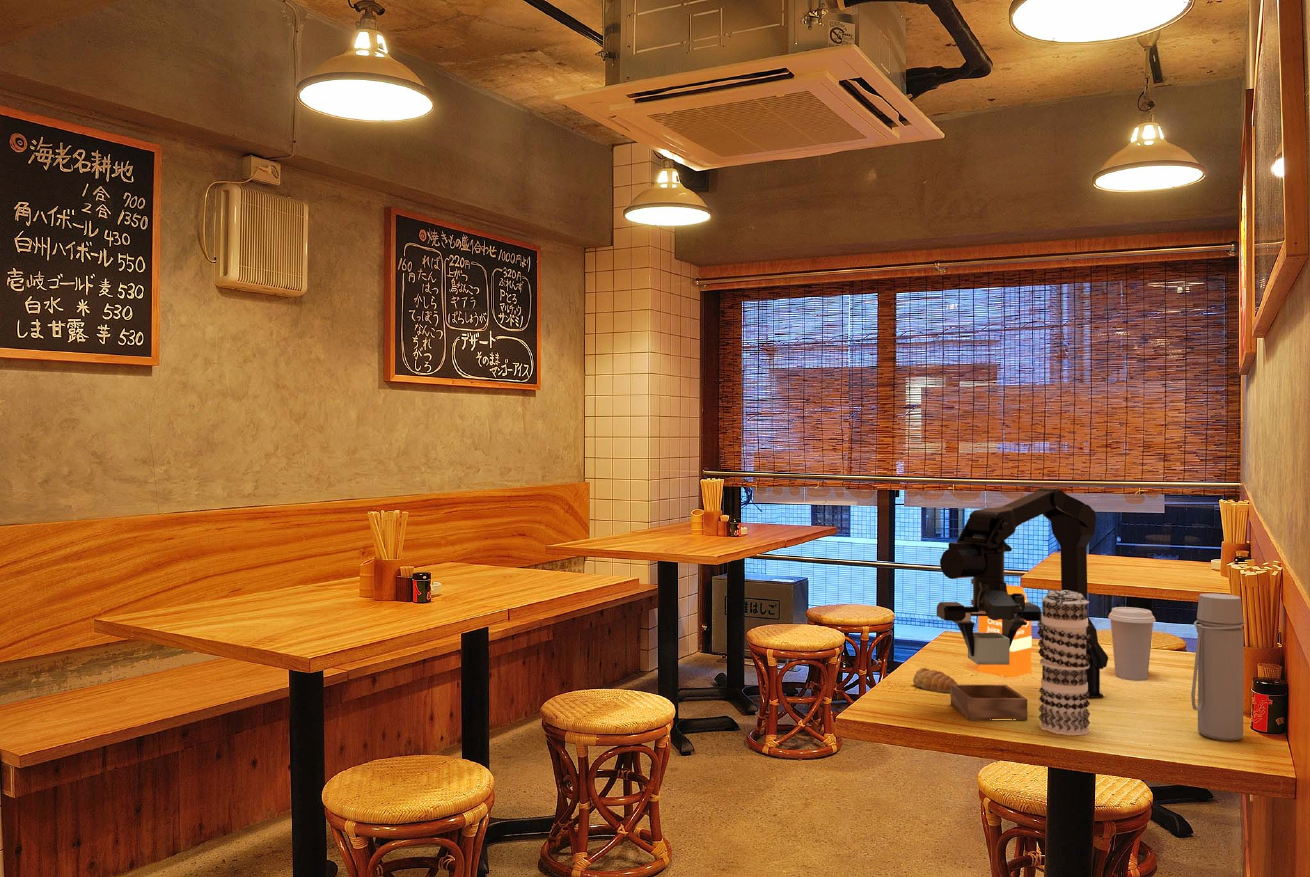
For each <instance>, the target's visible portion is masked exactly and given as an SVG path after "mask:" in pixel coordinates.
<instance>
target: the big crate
mask: <svg viewBox="0 0 1310 877" xmlns="http://www.w3.org/2000/svg"><path fill="white" fill-rule="evenodd" d="M950 705H951V706H952V707H953V708H954V709H955V710H957V711H958V713H960V714H961V715H962V716H963V717H964V718H965V719H967V720H968V721H987V720H990V719H991V720H992V719H1012V720H1013V719H1016V720H1027V721H1028V698H1026V697H1024V696H1023V695H1021V694H1020V693H1019V692H1018V691H1016V690H1015V689H1013V688H1011V687H1010V686H1008V685H1007V684H958V685H951V692H950Z"/></svg>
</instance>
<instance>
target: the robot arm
mask: <svg viewBox="0 0 1310 877" xmlns="http://www.w3.org/2000/svg"><path fill="white" fill-rule="evenodd" d="M1041 515H1042V516H1043V517H1044V518H1046V519H1047V520H1048V521H1049V522H1050V525H1051V526H1050V527H1051V532H1052V535H1053V537H1054V539H1056V541H1057V543H1058V545H1059V546H1060V547H1059V548H1060V585H1061V586H1060V588H1061V589H1060V590H1067V591H1075V592H1079V593H1081V594H1082V595H1083V596H1084V598H1085V600H1087V601H1089V600H1088V596H1089V595H1088V560H1087V558H1088V556H1087V555H1088V554H1087V550H1088V549H1087V548H1088V547H1087V546H1088V545H1089V543H1090V542H1091V540H1092V539H1093V537H1094V535H1095V531H1096V521H1097V515H1096V512H1095V509H1093V508H1092V507H1091V506H1090V505H1089V504H1085V503H1084V502H1083V501H1081V500H1079V499H1077V498H1075V497H1072V496H1070V495H1068V494H1067V493H1065V492H1064V491H1063V490H1061V489H1060V488H1053V487H1051V488H1050V487H1040V488H1038V489H1036V490H1035V491H1033V492H1031V493H1029V494H1027V495H1025V496H1023V497H1020V498H1018V499H1016V500H1013V501H1012V502H1010V503H1007V504H1004V505H1002V506H998V507H987V508H980V509H976V510H973V511H972V512H971V513H969V516H968V517H969V518H968V519H967V521H966V523H965V525H964V527H963V529H962V531H961V533H960V535H959V537H958V539H957V540H956V542H953V541H952V542H949V543H948V549H945V550H944V551H943V553H942V555H941V558H940V559H939V565H940V569H941V572H942V574H943V575H944V576H945V577H946V578H948V579H951V580H956V579H967V578H970V580H971V581H970V582H971V585H972V599H971V601H970V602H971V606H965V605H963V604H961V603H959V602H957V601H940V602H939V603H937V606H936V616H937V618H939V619H941V620H943V621H946V622H953V623H954V624H956V625H957V626H958V629H959V631H960V633H961V634H962V638H963V640H964V642H965V645H966V647H967V652H968V651H969V653H970V655H971V656H974V637H973V632H974V627H975V622H974V621H972V617H979V616H987V617H988V618H989V619H991V620H998V619H1002V635H1004V636H1006V637H1008V638H1009V639H1010V646H1011V644H1012V641H1013V639H1014V636H1015V634H1016V633H1017V631H1018V629H1019V628H1021V627H1022V626H1023V625H1027V622H1025V621H1031V622H1038V621H1039V620H1041V616H1042V614H1043V610H1042V609H1041V607H1040V606H1039V605H1037V604H1035V603H1032V602H1029V601H1028V602H1025V596H1024V595H1023V594H1022V593H1013V594H1008V592H1007V586H1006V585H1007V582H1005V553H1007V552H1012V551H1013V548H1012V547H1011V546H1010V545H1009V544H1008V543H1007V542H1006V540H1007V539H1009V537H1011V536H1012V535H1014V533H1016V529H1017V527H1019V526H1020V525H1022V524H1025V523H1026V522H1028V521H1031V520H1033V519H1035V518H1037V517H1039V516H1041ZM1088 604H1089V603H1087V618H1088V624H1090V625H1092V626H1093V627H1092V628H1091V629H1089V628H1088V629H1087V628H1086V634H1087V633H1088V634H1089V635H1090V636H1091V637H1092V639H1090V640H1088V641H1087V640H1086V643H1089V644H1090V645H1091V646H1092V647H1091V648H1089V649H1087V650H1086V653H1087V654H1088V655H1090V656H1091V658H1090V659H1089V660H1086V662H1087V663H1088V664H1090V666H1089V668H1088V669H1087V682H1088V691H1087V692H1088V693H1089V694H1090V696H1089V698H1104V694H1103V693H1101V691H1100V690H1101V688H1100V687H1101V686H1100V685H1101V684H1100V683H1101V681H1100V680H1101V678H1100V677H1101V676H1100V675H1101V670H1102V669H1104V668H1107V667H1108V666H1107V665H1108V660H1109V655H1108V654H1107V653H1106V652H1105V651H1104V649H1103V648H1102V646H1101V644H1100V643H1099V640H1098V633H1097V632H1098V631H1097V628H1096V627H1095V625H1094V623H1093V622H1092V621H1091V619H1090V616H1089V609H1088V607H1089V605H1088Z"/></svg>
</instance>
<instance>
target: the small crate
mask: <svg viewBox="0 0 1310 877" xmlns="http://www.w3.org/2000/svg"><path fill="white" fill-rule="evenodd" d="M973 637H974V656H971V655H970V653H969V651H968V650H967V658H968V659H969V660H971V661H972V662H973V663H975V664H977V665H978V666H979V665H1010V639H1009V638H1008V637H1006V636H1004V635H1002V634H1000V633H998V632H979V631H978V632H977V631H975V632H974V631H973Z"/></svg>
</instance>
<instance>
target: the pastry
mask: <svg viewBox="0 0 1310 877" xmlns="http://www.w3.org/2000/svg"><path fill="white" fill-rule="evenodd" d="M912 682H913V684H914V685H915V686H916V687H917V688H922V689H923V690H925V689H927V690H926V691H930V692H934V691H936V692H935V693H941V694H943V693H947V694H951V685H959V684H958V683H957V681H955V679H954V678H952V677H950V675H947V674H945V673H944V672H943V671H938V670H935V669H929V668H926V667H922V668H919V670H916V672H915V675H914V676H913V679H912Z"/></svg>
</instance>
